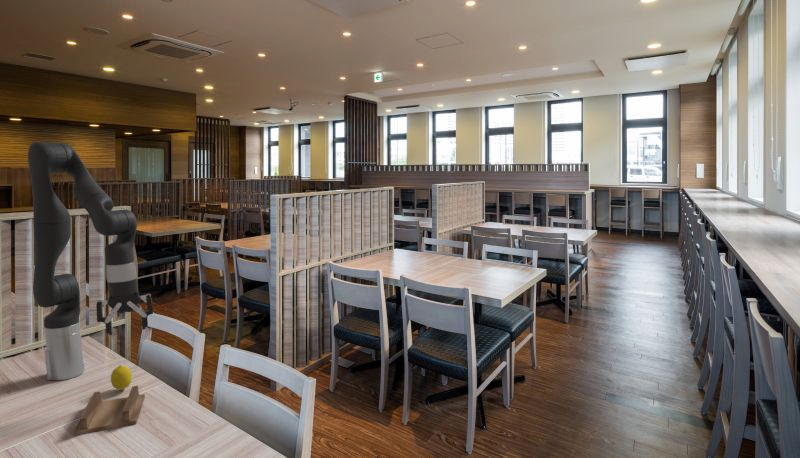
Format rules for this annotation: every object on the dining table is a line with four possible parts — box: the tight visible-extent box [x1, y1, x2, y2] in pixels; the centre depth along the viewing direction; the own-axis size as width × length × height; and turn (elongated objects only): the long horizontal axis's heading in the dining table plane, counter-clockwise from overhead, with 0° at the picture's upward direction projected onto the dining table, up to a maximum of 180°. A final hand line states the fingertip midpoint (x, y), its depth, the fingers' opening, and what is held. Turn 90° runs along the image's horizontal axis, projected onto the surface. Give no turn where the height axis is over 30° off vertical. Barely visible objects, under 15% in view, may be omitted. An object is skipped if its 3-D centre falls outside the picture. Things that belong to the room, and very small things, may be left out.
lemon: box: [110, 364, 133, 391], centre depth 139 cm, size 6×6×8 cm
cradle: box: [73, 385, 146, 436], centre depth 126 cm, size 14×15×4 cm
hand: (127, 331), depth 136 cm, fingers open, 8 cm apart
